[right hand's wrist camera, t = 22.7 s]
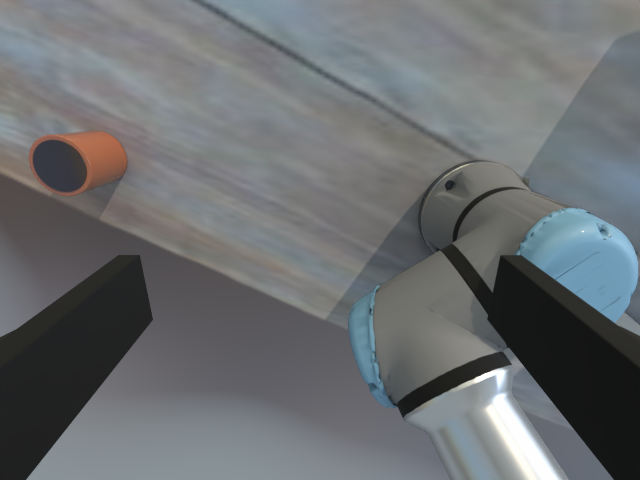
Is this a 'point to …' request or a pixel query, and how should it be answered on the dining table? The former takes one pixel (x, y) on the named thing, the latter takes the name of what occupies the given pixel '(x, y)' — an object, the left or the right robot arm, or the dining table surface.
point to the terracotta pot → (77, 161)
